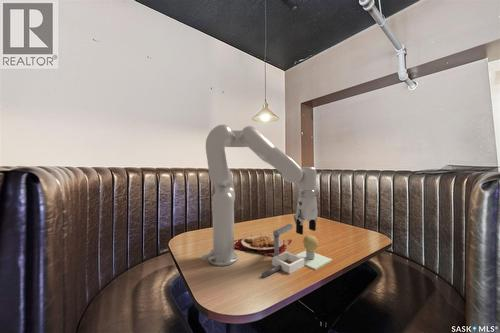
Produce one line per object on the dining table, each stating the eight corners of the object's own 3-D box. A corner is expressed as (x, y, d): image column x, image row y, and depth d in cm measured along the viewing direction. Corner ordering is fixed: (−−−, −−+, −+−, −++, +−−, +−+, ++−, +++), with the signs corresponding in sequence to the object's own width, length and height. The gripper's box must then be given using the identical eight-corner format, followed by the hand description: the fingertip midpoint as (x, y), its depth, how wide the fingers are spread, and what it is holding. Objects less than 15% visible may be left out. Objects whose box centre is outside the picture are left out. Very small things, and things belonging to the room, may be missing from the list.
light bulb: (314, 254, 90) (314, 233, 90) (320, 261, 83) (320, 238, 84) (301, 255, 90) (301, 233, 90) (305, 261, 83) (305, 238, 83)
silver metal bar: (293, 228, 97) (293, 224, 97) (277, 236, 85) (277, 232, 85) (288, 227, 99) (288, 223, 99) (272, 235, 86) (272, 231, 86)
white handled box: (271, 283, 68) (271, 253, 68) (249, 269, 78) (249, 243, 78) (304, 266, 81) (304, 240, 81) (282, 256, 90) (281, 233, 90)
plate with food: (279, 260, 88) (279, 252, 88) (229, 248, 99) (229, 241, 100) (292, 242, 110) (292, 236, 110) (250, 234, 122) (250, 229, 122)
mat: (315, 270, 77) (315, 268, 77) (289, 258, 87) (289, 257, 87) (332, 260, 86) (332, 259, 86) (306, 251, 96) (306, 249, 96)
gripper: (302, 196, 80) (301, 237, 79) (324, 194, 91) (323, 230, 90) (288, 193, 86) (287, 232, 85) (310, 192, 97) (309, 226, 96)
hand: (306, 231), depth 88 cm, fingers open, 9 cm apart
